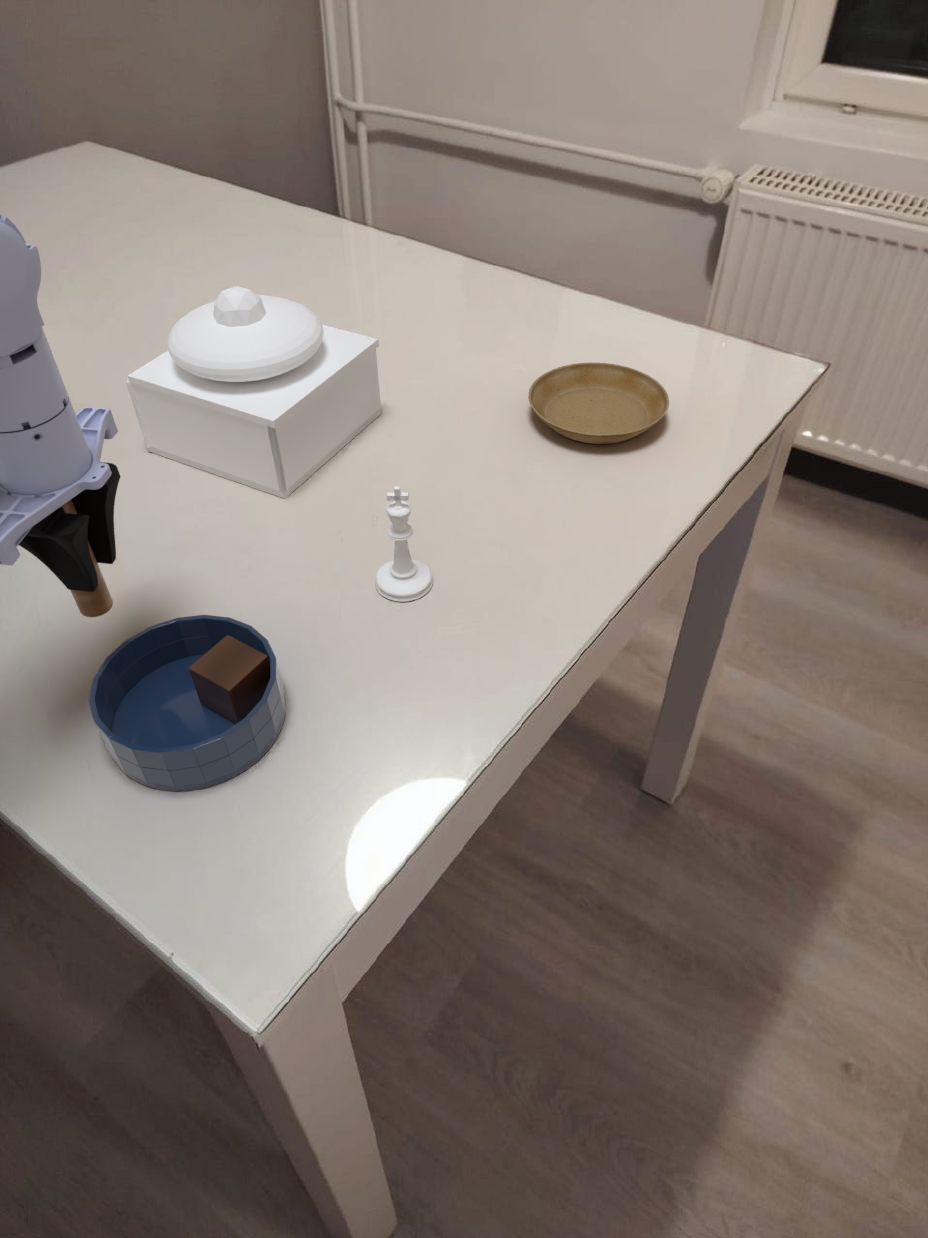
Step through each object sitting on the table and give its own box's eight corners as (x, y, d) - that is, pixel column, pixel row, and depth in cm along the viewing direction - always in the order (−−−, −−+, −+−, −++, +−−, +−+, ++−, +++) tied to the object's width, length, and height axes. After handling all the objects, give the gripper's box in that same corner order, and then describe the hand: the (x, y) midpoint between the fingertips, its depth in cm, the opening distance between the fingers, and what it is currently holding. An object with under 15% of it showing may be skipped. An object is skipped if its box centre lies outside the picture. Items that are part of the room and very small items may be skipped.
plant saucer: (581, 472, 86) (583, 449, 84) (501, 405, 95) (501, 384, 93) (694, 429, 91) (698, 408, 90) (608, 370, 101) (611, 349, 99)
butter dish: (253, 376, 100) (226, 235, 89) (385, 414, 94) (373, 268, 83) (147, 452, 89) (100, 302, 78) (288, 501, 83) (259, 347, 72)
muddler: (84, 622, 63) (29, 502, 56) (76, 602, 65) (22, 482, 57) (117, 610, 64) (68, 490, 56) (108, 591, 66) (59, 471, 58)
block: (200, 704, 64) (187, 668, 62) (237, 670, 67) (227, 634, 64) (239, 726, 63) (228, 690, 60) (276, 691, 65) (267, 655, 62)
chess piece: (431, 602, 73) (426, 507, 66) (373, 601, 73) (362, 506, 66) (434, 563, 76) (430, 469, 69) (378, 563, 77) (368, 469, 70)
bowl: (77, 779, 61) (55, 739, 57) (152, 647, 70) (137, 607, 66) (252, 802, 59) (240, 763, 56) (306, 665, 68) (298, 624, 65)
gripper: (18, 484, 47) (98, 653, 56) (132, 352, 57) (183, 515, 66) (-100, 473, 48) (-2, 642, 57) (33, 345, 58) (98, 507, 67)
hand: (92, 573), depth 62 cm, fingers closed on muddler, 2 cm apart
